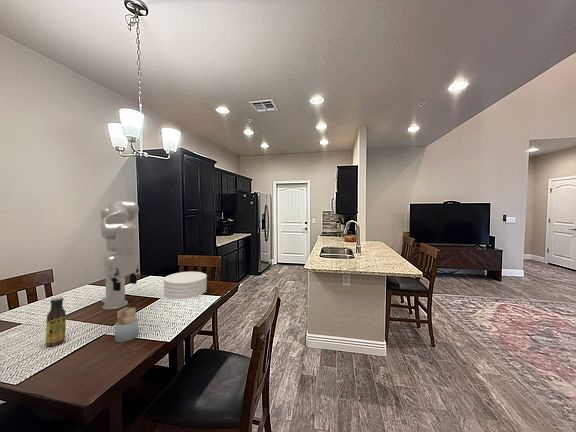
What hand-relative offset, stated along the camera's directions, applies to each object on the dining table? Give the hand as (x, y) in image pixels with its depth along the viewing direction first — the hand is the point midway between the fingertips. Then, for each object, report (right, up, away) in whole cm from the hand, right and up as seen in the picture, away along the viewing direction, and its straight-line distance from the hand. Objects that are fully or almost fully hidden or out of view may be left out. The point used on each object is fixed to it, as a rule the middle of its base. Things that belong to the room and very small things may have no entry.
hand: (125, 286), depth 116 cm
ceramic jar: (+2, -23, -2) cm, 23 cm away
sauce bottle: (-25, -23, -8) cm, 35 cm away
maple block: (+2, -16, -2) cm, 16 cm away
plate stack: (+5, -21, +58) cm, 62 cm away
